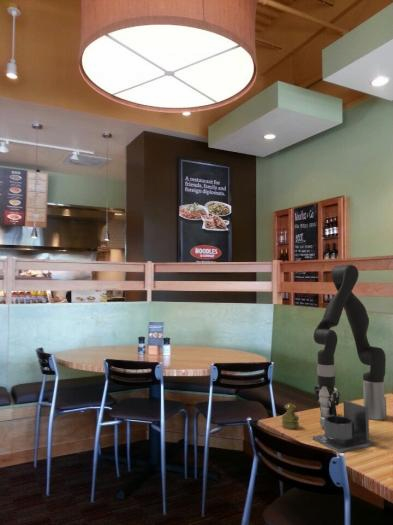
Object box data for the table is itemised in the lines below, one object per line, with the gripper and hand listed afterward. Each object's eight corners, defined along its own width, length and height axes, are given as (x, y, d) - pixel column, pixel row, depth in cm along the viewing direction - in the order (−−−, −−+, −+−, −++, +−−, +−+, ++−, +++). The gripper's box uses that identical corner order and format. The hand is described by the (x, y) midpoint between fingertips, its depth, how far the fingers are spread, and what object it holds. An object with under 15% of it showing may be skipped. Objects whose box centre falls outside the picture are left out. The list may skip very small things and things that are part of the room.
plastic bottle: (336, 430, 179) (335, 383, 180) (320, 429, 180) (319, 383, 181) (334, 425, 185) (333, 380, 186) (318, 424, 186) (318, 379, 187)
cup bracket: (346, 432, 176) (345, 399, 177) (374, 445, 162) (373, 408, 163) (312, 439, 169) (312, 404, 170) (339, 452, 155) (338, 414, 156)
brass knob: (286, 422, 190) (286, 400, 190) (301, 426, 185) (301, 403, 185) (278, 427, 184) (278, 404, 184) (294, 430, 179) (293, 407, 180)
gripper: (344, 376, 179) (345, 416, 178) (322, 370, 192) (322, 407, 191) (330, 378, 176) (331, 418, 175) (308, 371, 189) (309, 409, 188)
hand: (327, 412), depth 183 cm, fingers closed on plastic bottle, 5 cm apart
